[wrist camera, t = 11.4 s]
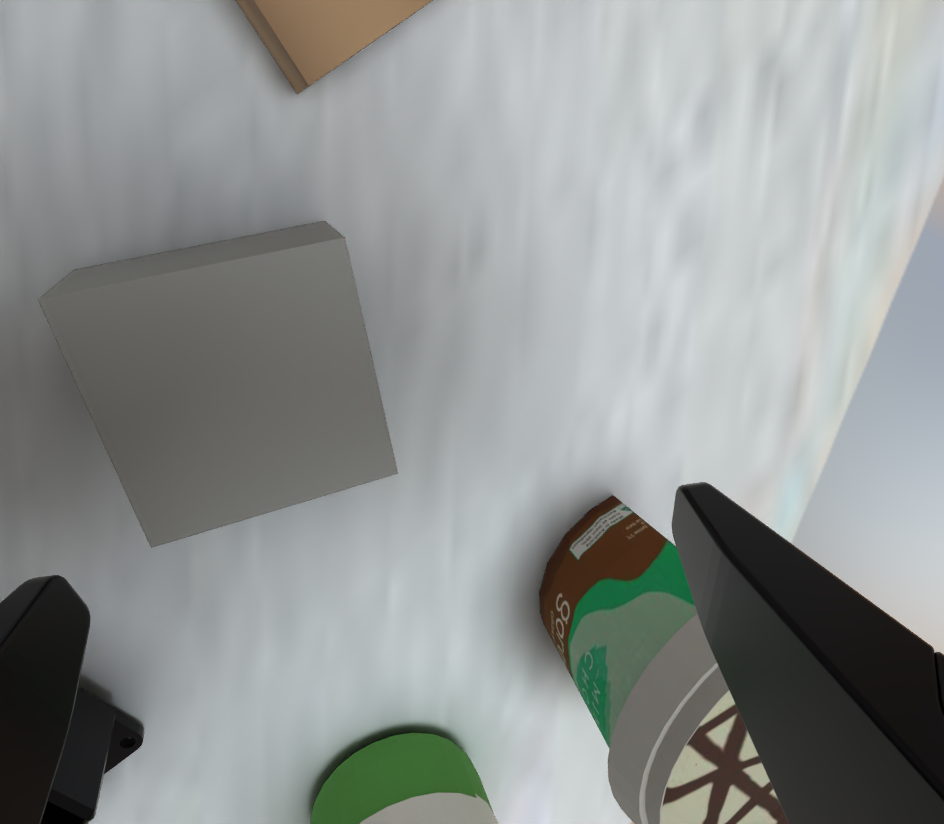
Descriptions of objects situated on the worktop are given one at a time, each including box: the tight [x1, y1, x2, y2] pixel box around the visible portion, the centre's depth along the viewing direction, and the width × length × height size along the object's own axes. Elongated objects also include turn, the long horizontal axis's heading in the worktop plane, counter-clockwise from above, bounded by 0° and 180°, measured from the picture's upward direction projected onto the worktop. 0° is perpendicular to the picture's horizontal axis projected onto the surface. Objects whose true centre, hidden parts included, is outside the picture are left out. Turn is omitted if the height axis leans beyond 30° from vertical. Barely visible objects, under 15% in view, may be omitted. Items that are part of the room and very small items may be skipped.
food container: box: [539, 496, 789, 824], centre depth 24 cm, size 12×6×10 cm, turn 20°
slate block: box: [38, 221, 398, 548], centre depth 18 cm, size 7×7×4 cm
